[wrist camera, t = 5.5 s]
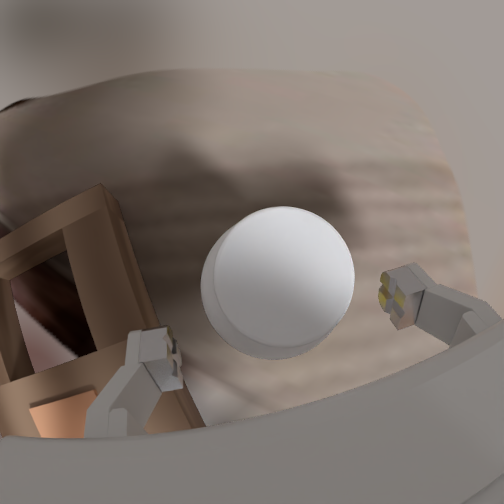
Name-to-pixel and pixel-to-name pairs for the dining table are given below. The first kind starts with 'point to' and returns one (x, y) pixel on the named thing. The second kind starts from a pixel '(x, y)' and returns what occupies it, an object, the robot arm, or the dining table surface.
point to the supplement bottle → (277, 282)
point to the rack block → (97, 314)
